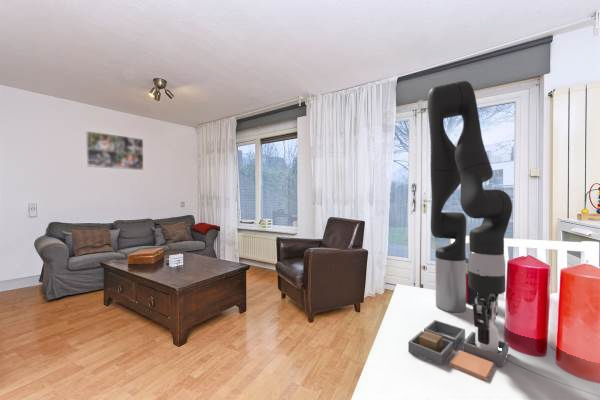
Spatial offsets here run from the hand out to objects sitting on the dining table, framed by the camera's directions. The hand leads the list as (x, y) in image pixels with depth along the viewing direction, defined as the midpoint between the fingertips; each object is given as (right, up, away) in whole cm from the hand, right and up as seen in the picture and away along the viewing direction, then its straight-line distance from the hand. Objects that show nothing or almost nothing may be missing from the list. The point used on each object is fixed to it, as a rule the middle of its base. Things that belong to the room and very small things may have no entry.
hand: (486, 338), depth 66 cm
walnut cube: (-14, -4, +1) cm, 14 cm away
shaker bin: (0, -4, 0) cm, 4 cm away
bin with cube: (-14, -4, +1) cm, 14 cm away
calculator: (+16, -3, +35) cm, 38 cm away
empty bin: (-7, -4, +7) cm, 10 cm away
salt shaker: (0, -3, 0) cm, 3 cm away
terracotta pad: (-7, -4, -5) cm, 9 cm away
